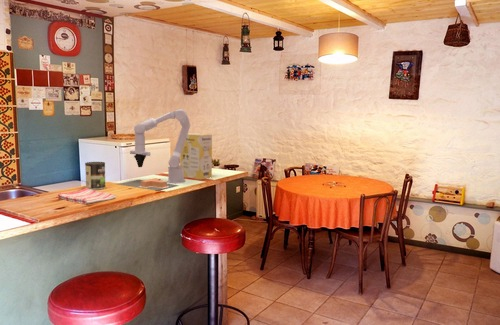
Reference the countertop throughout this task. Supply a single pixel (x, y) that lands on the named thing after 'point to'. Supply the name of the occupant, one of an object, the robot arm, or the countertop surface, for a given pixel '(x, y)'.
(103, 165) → the coffee can
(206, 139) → the pasta box
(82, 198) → the dish towel
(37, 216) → the countertop surface
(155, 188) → the slate mat
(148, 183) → the t block
